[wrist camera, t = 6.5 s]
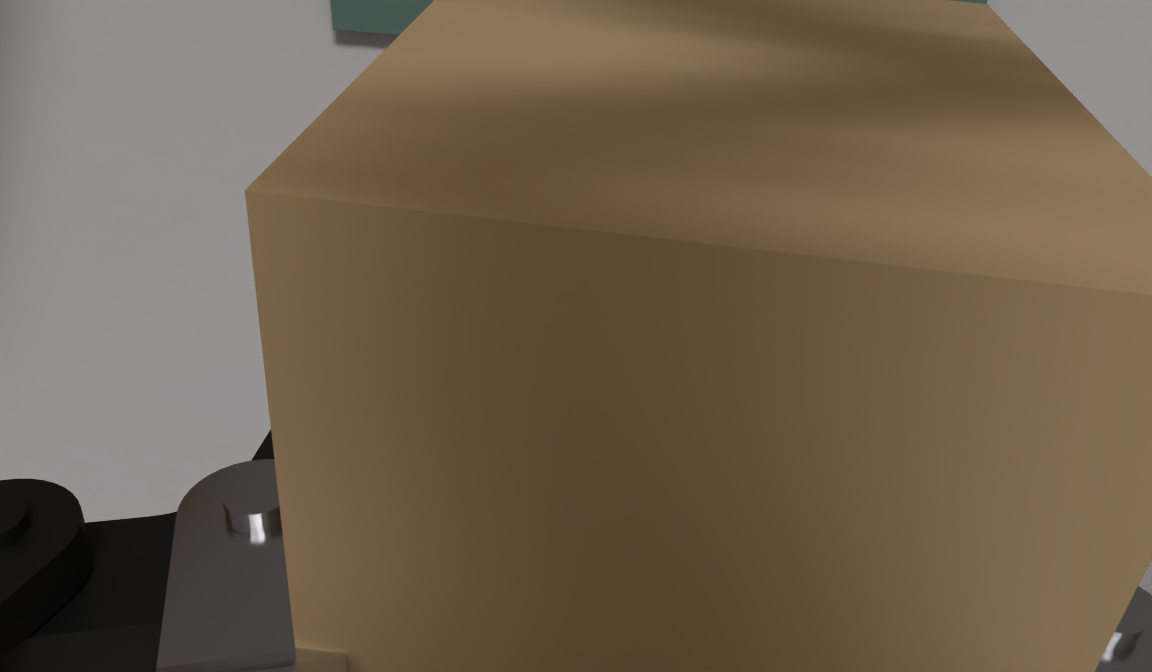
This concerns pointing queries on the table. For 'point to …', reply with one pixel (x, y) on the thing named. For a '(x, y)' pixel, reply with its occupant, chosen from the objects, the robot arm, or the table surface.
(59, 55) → the table surface
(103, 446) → the table surface
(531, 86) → the block
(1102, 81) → the table surface
